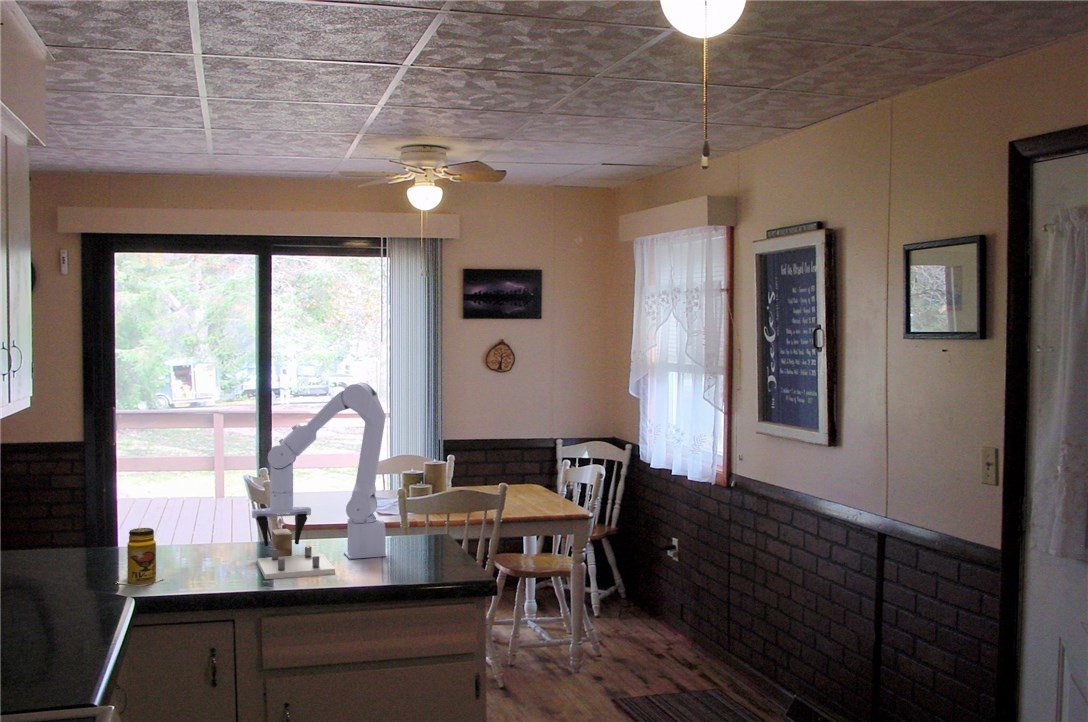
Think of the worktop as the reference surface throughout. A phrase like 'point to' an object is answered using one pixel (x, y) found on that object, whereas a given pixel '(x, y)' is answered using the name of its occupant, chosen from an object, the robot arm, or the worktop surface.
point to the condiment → (141, 558)
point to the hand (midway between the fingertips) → (281, 544)
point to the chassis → (294, 565)
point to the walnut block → (282, 542)
